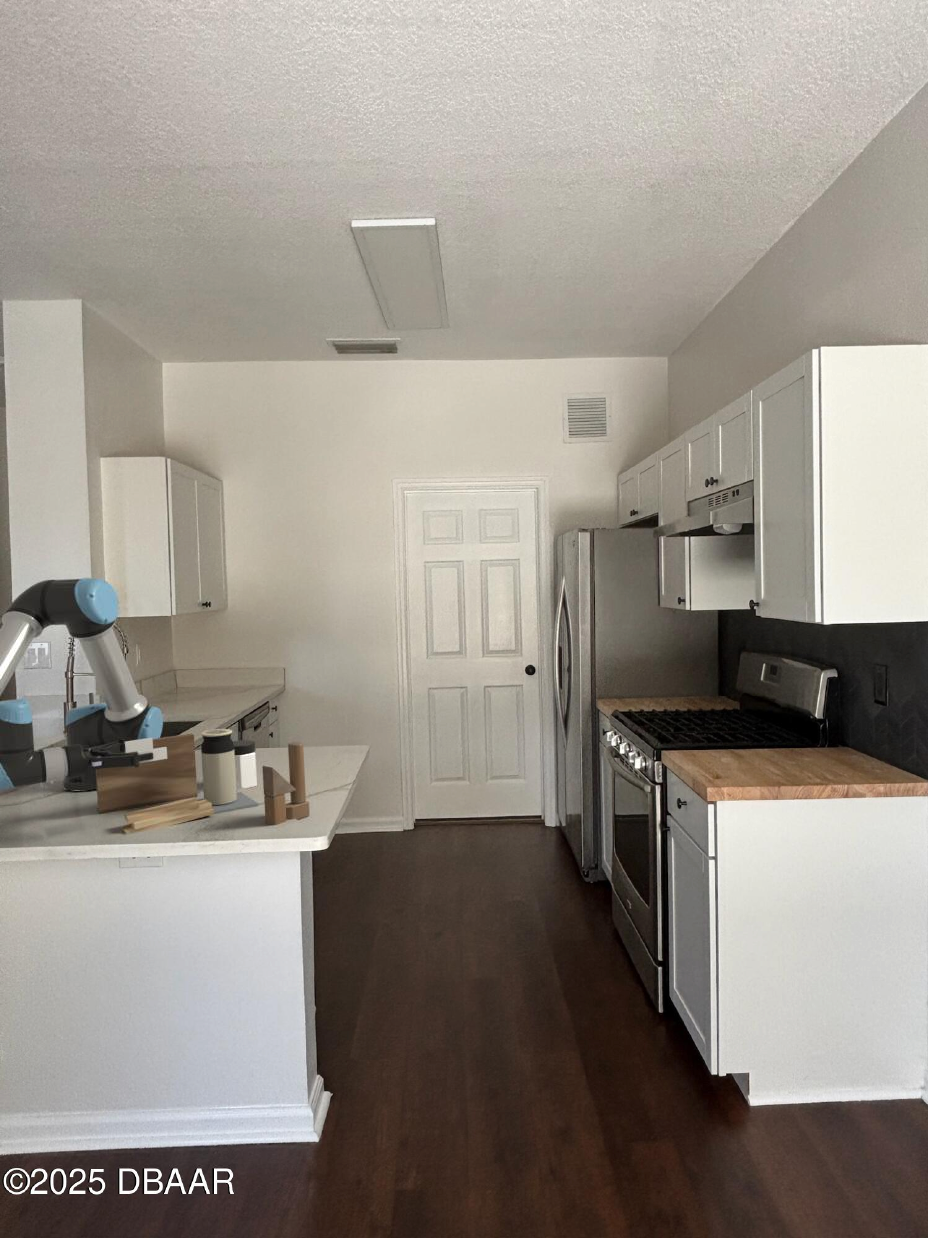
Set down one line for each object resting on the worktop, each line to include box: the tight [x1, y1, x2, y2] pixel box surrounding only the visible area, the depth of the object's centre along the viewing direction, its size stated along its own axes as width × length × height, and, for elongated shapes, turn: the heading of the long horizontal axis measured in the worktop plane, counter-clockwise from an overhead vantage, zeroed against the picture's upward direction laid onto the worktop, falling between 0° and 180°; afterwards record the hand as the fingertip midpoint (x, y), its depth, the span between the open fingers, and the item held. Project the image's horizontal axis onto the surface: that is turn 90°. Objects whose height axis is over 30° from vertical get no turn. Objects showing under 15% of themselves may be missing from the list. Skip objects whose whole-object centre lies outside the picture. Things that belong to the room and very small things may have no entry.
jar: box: [232, 739, 258, 790], centre depth 231 cm, size 9×8×12 cm
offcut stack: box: [121, 797, 215, 835], centre depth 197 cm, size 6×20×4 cm, turn 123°
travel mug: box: [200, 728, 237, 806], centre depth 211 cm, size 8×8×18 cm
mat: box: [197, 791, 259, 816], centre depth 211 cm, size 14×14×1 cm
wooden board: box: [96, 733, 198, 815], centre depth 214 cm, size 4×24×17 cm, turn 123°
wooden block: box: [262, 741, 311, 826], centre depth 197 cm, size 4×11×18 cm, turn 143°
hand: (159, 747), depth 204 cm, fingers open, 13 cm apart
